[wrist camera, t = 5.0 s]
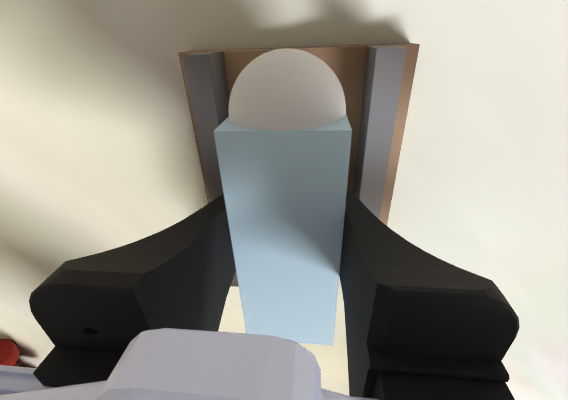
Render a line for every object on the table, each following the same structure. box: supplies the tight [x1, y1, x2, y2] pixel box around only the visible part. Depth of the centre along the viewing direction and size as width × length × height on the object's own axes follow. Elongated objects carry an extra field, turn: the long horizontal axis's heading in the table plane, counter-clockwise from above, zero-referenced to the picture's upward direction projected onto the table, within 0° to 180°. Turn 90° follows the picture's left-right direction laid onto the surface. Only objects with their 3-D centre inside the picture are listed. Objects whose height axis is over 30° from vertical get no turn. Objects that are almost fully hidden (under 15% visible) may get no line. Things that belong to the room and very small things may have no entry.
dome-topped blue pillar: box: [214, 48, 352, 345], centre depth 12 cm, size 12×4×4 cm, turn 2°
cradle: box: [179, 43, 420, 286], centre depth 14 cm, size 12×10×3 cm
